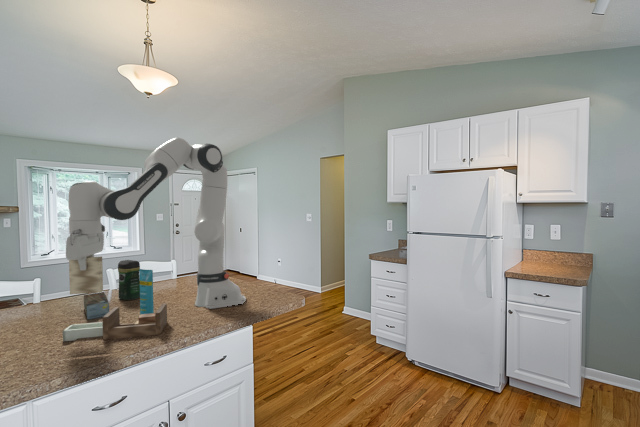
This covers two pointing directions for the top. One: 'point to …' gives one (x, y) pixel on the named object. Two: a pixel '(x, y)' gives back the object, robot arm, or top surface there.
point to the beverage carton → (96, 305)
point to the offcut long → (143, 323)
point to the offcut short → (147, 318)
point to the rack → (132, 325)
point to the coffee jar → (129, 280)
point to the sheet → (86, 276)
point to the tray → (83, 331)
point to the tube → (146, 291)
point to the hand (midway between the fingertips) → (86, 268)
